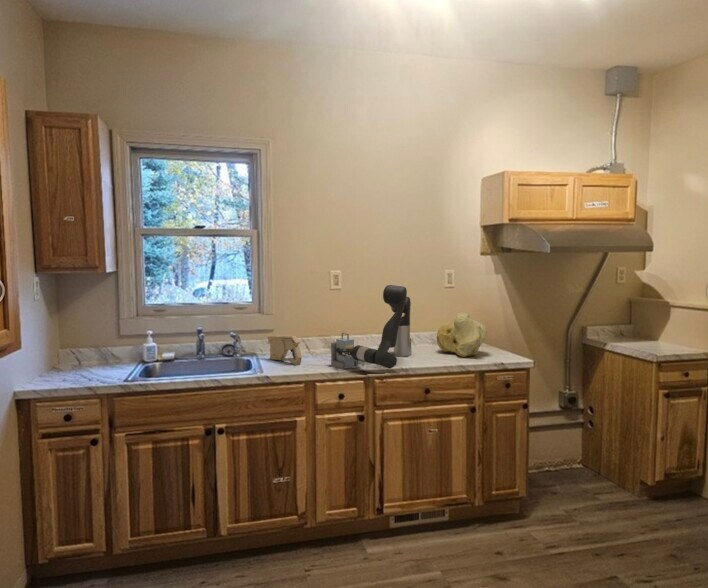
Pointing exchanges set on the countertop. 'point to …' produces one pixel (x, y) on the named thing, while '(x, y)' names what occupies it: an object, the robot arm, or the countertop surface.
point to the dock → (333, 358)
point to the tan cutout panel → (284, 348)
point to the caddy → (344, 344)
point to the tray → (363, 363)
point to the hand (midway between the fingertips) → (342, 349)
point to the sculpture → (461, 335)
